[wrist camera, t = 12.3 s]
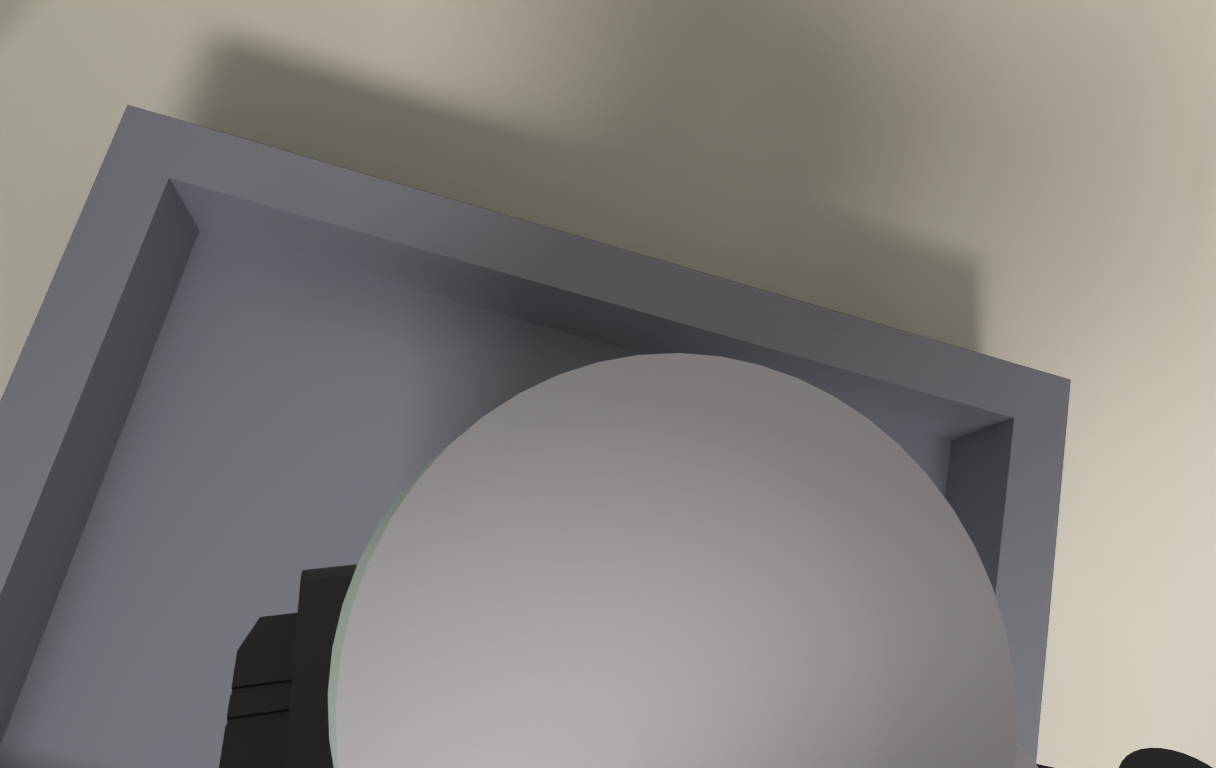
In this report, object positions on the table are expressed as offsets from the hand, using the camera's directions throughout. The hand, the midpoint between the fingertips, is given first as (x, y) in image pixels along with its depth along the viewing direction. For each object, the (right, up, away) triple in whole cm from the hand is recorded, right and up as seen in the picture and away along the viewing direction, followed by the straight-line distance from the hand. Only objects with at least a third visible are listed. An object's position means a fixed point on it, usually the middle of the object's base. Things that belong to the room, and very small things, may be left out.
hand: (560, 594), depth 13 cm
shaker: (-1, -2, +5) cm, 6 cm away
